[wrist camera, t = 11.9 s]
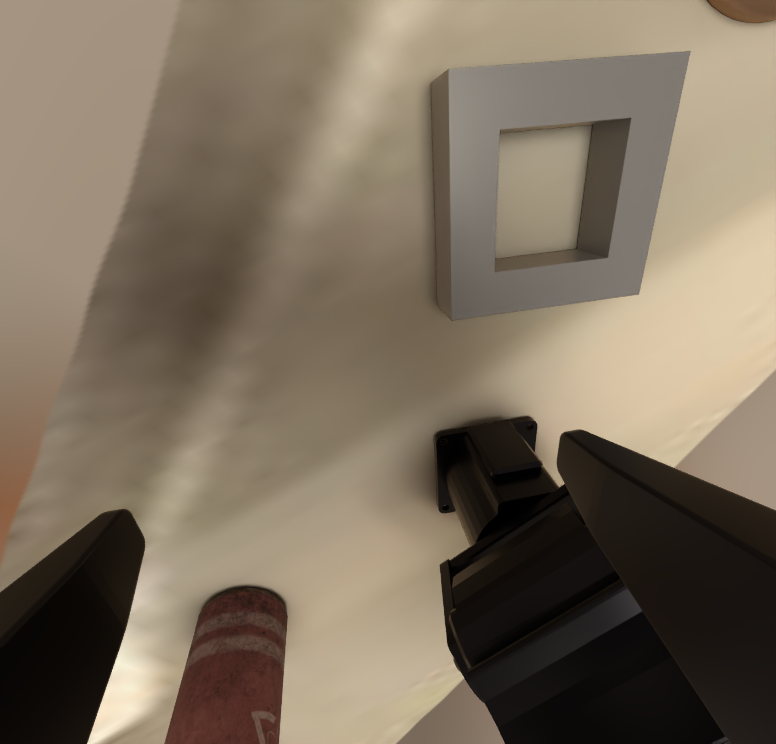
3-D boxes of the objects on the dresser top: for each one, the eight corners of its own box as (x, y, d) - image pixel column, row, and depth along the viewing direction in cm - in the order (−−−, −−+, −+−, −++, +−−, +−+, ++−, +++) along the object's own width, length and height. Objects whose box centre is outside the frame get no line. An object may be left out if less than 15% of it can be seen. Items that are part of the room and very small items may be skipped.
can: (241, 570, 27) (175, 905, 15) (304, 608, 30) (295, 916, 17) (178, 614, 28) (67, 964, 16) (245, 647, 31) (197, 964, 18)
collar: (606, 282, 22) (639, 294, 19) (437, 304, 21) (451, 320, 18) (642, 66, 17) (690, 50, 15) (430, 83, 16) (448, 69, 14)
